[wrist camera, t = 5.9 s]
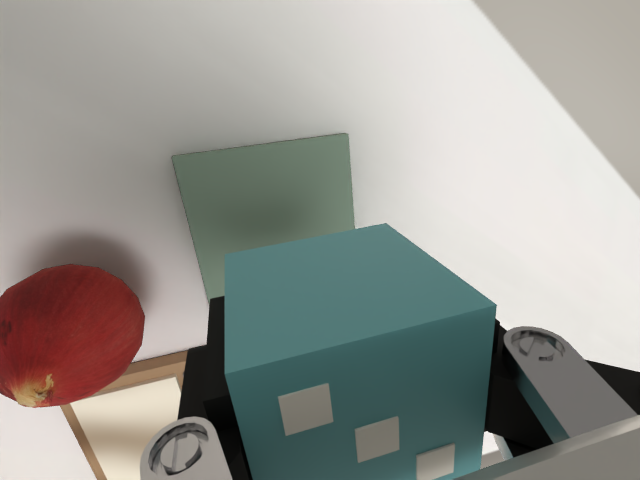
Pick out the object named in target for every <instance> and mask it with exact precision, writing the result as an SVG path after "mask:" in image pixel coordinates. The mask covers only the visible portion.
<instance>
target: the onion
mask: <svg viewBox="0 0 640 480" xmlns="http://www.w3.org/2000/svg"><path fill="white" fill-rule="evenodd" d="M144 320H145V315H144V312H143V310H142V307H141V305H140V302H139V300H138V297H137V296H136V295H135V294H134V293H133V292H132V290H131V289H130V288H129V287H128V286H127V285H126V284H125V283H124V282H123V281H122V280H121V279H119V278H117V277H116V276H114V275H112V274H110V273H108V272H106V271H104V270H102V269H100V268H98V267H90V266H82V265H73V264H68V265H62V266H57V267H51V268H46V269H42V270H41V271H39V272H37V273H35V274H33V275H31V276H30V277H28V278H26V279H24V280H23V281H21V282H19V283H17V284H15V285H14V286H12V287H10V288H8V289H7V290H6V291H5V292H4V293H3V295H2V296H1V297H0V393H1V394H2V395H4V396H6V397H8V398H11V399H13V400H15V401H17V402H18V404H20V405H22V406H25V407H33V408H36V407H49V406H59V405H66V404H69V403H72V402H75V401H78V400H81V399H84V398H87V397H89V396H92V395H93V394H95V393H96V392H98V391H99V390H101V389H103V388H104V387H106V386H107V385H109V384H111V383H112V382H114V381H115V380H117V379H118V378H119V377H120V376H121V375H122V374H124V373H125V371H126V370H127V368H128V366H129V365H130V363H131V362H132V360H133V358H134V357H135V355H136V353H137V352H138V350H139V349H140V347H141V345H142V339H143V331H144Z"/></svg>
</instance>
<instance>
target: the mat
mask: <svg viewBox="0 0 640 480" xmlns="http://www.w3.org/2000/svg"><path fill="white" fill-rule="evenodd" d="M172 161H173V165H174V169H175V172H176V176H177V180H178V184H179V188H180V192H181V196H182V200H183V204H184V208H185V212H186V216H187V220H188V223H189V227H190V231H191V235H192V239H193V243H194V247H195V251H196V255H197V259H198V263H199V267H200V270H201V274H202V278H203V282H204V286H205V290H206V294H207V298H208V302H209V306H210V299H211V298H216V297H220V296H225V254H228V253H234V252H239V251H244V250H249V249H254V248H260V247H265V246H270V245H275V244H280V243H286V242H291V241H296V240H301V239H306V238H312V237H317V236H322V235H327V234H333V233H338V232H343V231H348V230H353V229H355V226H354V212H353V197H352V182H351V167H350V153H349V138H348V134H346V133H342V134H335V135H327V136H320V137H312V138H304V139H297V140H289V141H281V142H274V143H266V144H259V145H251V146H243V147H236V148H228V149H220V150H213V151H205V152H198V153H190V154H182V155H175V156H172Z"/></svg>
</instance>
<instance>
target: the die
mask: <svg viewBox="0 0 640 480" xmlns="http://www.w3.org/2000/svg"><path fill="white" fill-rule="evenodd" d="M496 306H497V305H496V304H495V303H493V302H492V301H491V300H489V299H488V298H487V297H485V296H484V295H483V294H481V293H480V292H479V291H477V290H476V289H474V288H473V287H472V286H470V285H469V284H468V283H466V282H465V281H464V280H462V279H461V278H460V277H458V276H457V275H456V274H454V273H453V272H451V271H450V270H449V269H447V268H446V267H445V266H443V265H442V264H441V263H439V262H438V261H437V260H435V259H434V258H432V257H431V256H430V255H428V254H427V253H426V252H424V251H423V250H422V249H420V248H419V247H418V246H416V245H415V244H414V243H412V242H411V241H409V240H408V239H407V238H405V237H404V236H403V235H401V234H400V233H399V232H397V231H396V230H395V229H393V228H392V227H391V226H389V225H388V224H386V223H385V224H379V225H374V226H369V227H364V228H359V229H353V230H348V231H343V232H338V233H333V234H327V235H322V236H317V237H312V238H306V239H301V240H296V241H291V242H286V243H280V244H275V245H270V246H265V247H260V248H254V249H249V250H244V251H239V252H234V253H228V254H225V377H226V381H227V385H228V388H229V392H230V396H231V400H232V403H233V407H234V411H235V415H236V418H237V422H238V426H239V430H240V433H241V437H242V441H243V445H244V448H245V452H246V456H247V460H248V463H249V467H250V471H251V475H252V478H253V480H452V479H455V478H457V477H460V476H463V475H466V474H469V473H472V472H475V471H477V470H480V465H481V456H482V446H483V436H484V426H485V416H486V406H487V396H488V386H489V376H490V366H491V356H492V346H493V336H494V326H495V316H496Z"/></svg>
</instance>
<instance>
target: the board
mask: <svg viewBox="0 0 640 480" xmlns="http://www.w3.org/2000/svg"><path fill="white" fill-rule="evenodd" d="M187 352H188V350H187V351H183V352H178V353H174V354H170V355H165V356H161V357H157V358H152V359H148V360H144V361H139V362H135V363H131V364H130V365H129V366H128V368H127V370H126V371H125V373H124V374H122V375H121V376H120V377H119V378H118V379H117V380H115V381H114V382H112V383H111V384H109V385H107V386H106V387H104V388H103V389H101V390H99V391H98V392H96V393H95V394H93V395H92V396H89V397H87V398H84V399H81V400H78V401H75V402H72V403H69V404H66V405H60V407H61V409H62V411H63V413H64V415H65V417H66V419H67V421H68V423H69V425H70V427H71V429H72V431H73V433H74V435H75V437H76V439H77V441H78V443H79V445H80V447H81V449H82V451H83V453H84V455H85V457H86V459H87V460H88V462H89V464H90V466H91V468H92V470H93V472H94V474H95V476H96V478H97V480H141V478H140V459H141V455H142V453H143V451H144V449H145V446H146V445H147V444H148V442H149V441H150V440H151V439H152V437H153V436H154V435H155V434H156V433H158V432H159V431H160V430H161V429H162V428H164V427H165V426H167V425H169V424H170V423H172V422H174V421H177V418H178V411H179V404H180V398H181V391H182V384H183V377H184V371H185V364H186V357H187Z"/></svg>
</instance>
